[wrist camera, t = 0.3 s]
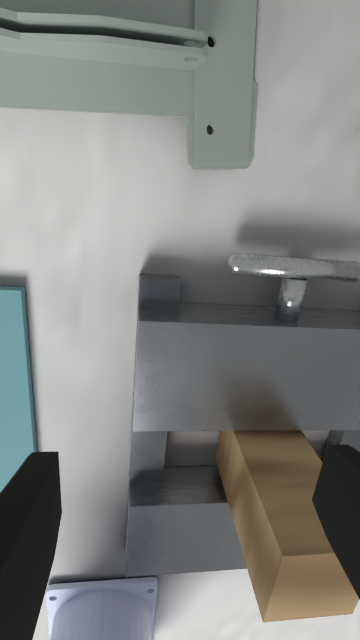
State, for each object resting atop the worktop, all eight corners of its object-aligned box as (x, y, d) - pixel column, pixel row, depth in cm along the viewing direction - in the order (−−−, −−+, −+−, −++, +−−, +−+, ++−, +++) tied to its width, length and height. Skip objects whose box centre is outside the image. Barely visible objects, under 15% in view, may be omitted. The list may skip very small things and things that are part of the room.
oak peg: (273, 457, 23) (352, 613, 15) (215, 458, 22) (263, 622, 14) (285, 407, 21) (381, 549, 13) (223, 407, 21) (282, 556, 13)
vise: (320, 536, 27) (340, 574, 24) (125, 547, 24) (124, 591, 22) (416, 261, 19) (461, 274, 16) (140, 241, 16) (142, 252, 14)
